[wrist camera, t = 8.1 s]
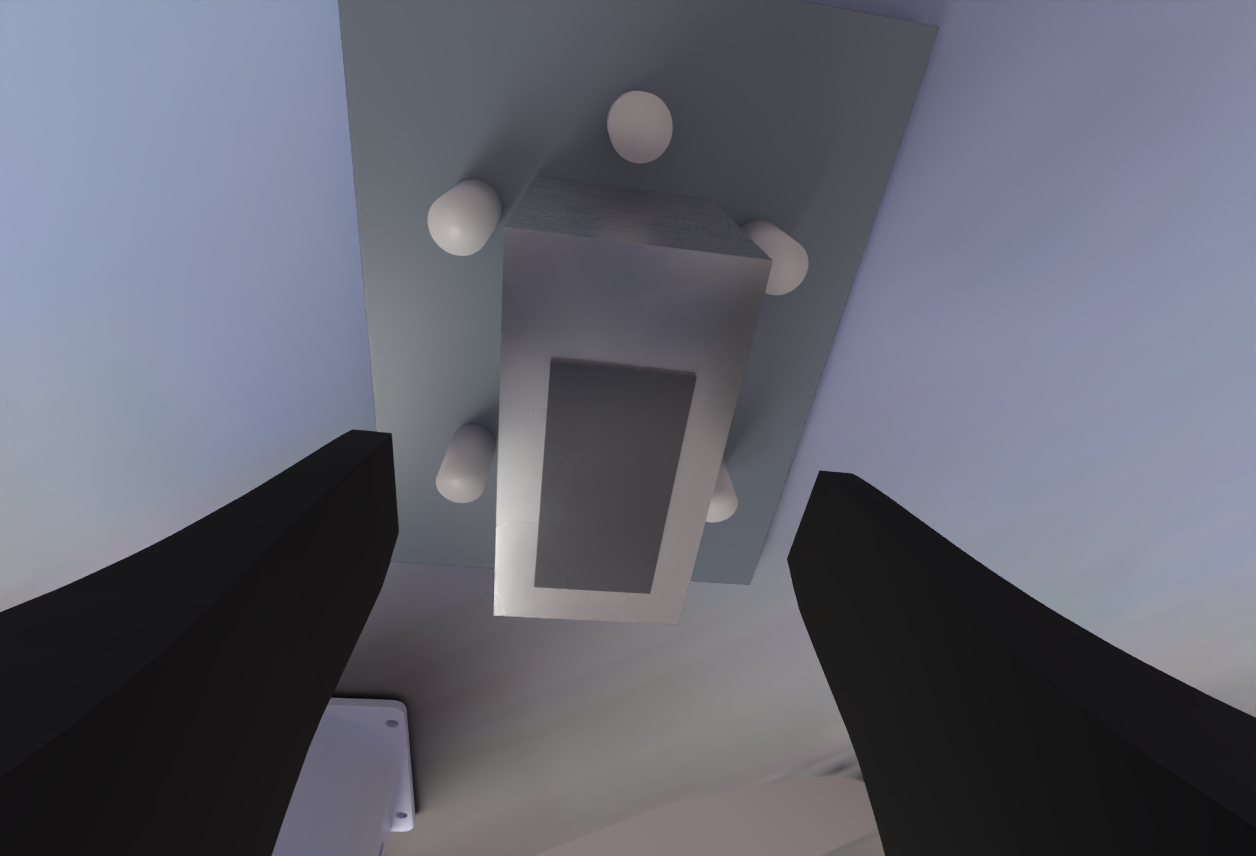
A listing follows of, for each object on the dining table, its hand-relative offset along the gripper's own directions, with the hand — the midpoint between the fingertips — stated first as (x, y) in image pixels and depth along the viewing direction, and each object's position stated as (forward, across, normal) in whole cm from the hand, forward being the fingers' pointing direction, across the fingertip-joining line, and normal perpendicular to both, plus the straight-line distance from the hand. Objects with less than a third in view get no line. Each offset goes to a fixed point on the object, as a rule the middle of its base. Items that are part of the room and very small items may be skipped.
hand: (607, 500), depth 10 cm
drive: (+6, 0, 0) cm, 6 cm away
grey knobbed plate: (+7, 0, 0) cm, 7 cm away
